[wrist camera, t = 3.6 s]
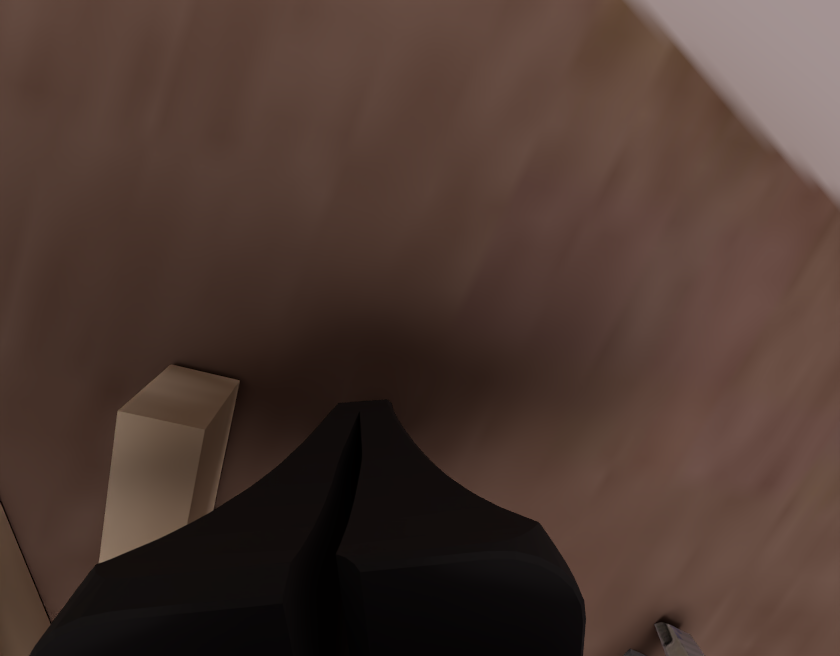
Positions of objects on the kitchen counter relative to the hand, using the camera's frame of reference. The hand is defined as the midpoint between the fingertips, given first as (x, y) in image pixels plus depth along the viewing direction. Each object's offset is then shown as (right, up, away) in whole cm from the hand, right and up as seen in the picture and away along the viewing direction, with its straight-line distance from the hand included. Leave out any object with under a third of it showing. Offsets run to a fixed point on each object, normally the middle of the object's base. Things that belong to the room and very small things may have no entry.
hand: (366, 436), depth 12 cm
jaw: (-6, -5, +2) cm, 8 cm away
